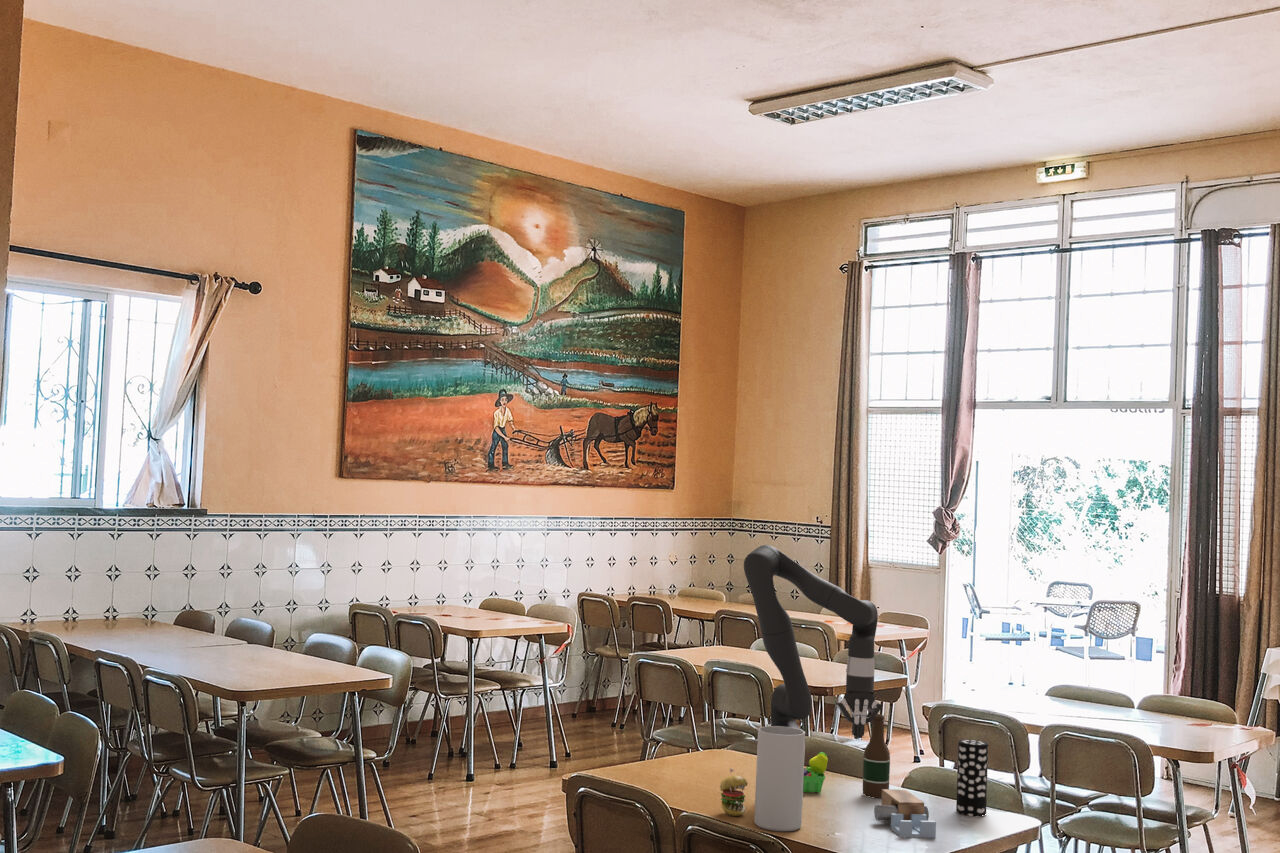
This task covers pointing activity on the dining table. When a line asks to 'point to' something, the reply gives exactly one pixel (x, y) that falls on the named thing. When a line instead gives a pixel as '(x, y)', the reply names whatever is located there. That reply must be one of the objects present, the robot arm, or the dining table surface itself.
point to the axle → (885, 812)
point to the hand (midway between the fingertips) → (858, 737)
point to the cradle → (913, 826)
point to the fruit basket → (815, 773)
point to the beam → (903, 802)
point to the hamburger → (733, 795)
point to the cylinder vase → (779, 778)
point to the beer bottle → (876, 761)
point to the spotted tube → (972, 777)
